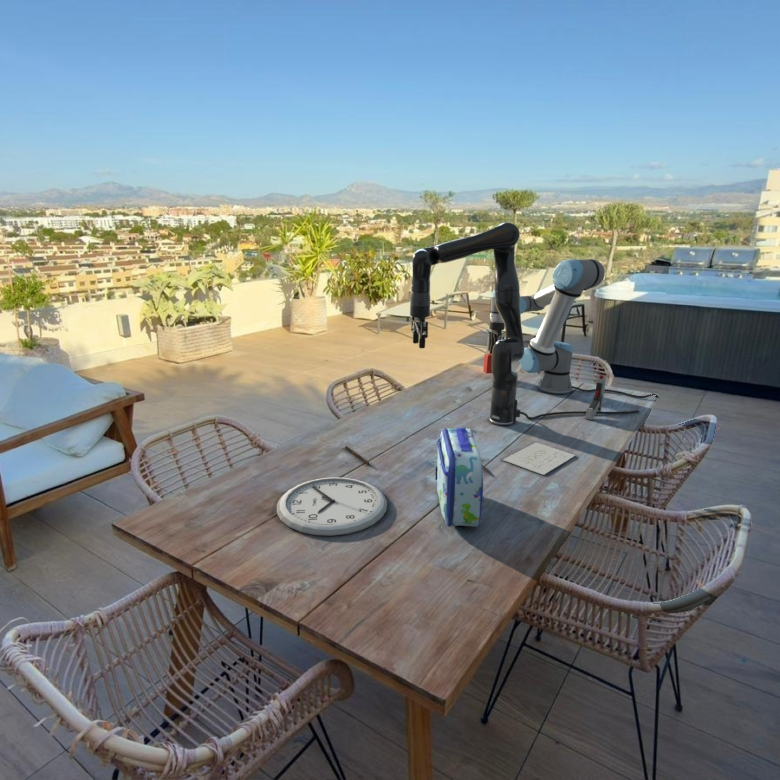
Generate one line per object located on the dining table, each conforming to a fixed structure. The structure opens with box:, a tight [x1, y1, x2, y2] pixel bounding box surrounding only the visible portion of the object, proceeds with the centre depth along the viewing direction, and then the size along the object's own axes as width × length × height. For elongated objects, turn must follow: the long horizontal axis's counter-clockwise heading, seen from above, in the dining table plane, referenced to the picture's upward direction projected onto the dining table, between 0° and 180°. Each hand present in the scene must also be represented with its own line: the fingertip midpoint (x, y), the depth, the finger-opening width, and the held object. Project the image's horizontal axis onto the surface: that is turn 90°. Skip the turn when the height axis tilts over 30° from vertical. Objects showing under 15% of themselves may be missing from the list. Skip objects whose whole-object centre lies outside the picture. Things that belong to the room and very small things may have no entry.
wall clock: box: [276, 476, 388, 537], centre depth 142 cm, size 30×2×30 cm
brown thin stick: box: [344, 445, 370, 465], centre depth 173 cm, size 15×1×1 cm, turn 34°
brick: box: [483, 353, 493, 374], centre depth 265 cm, size 4×9×9 cm, turn 104°
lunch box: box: [434, 427, 484, 528], centre depth 139 cm, size 26×11×21 cm, turn 179°
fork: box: [482, 465, 488, 474], centre depth 169 cm, size 3×16×2 cm, turn 15°
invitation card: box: [502, 442, 577, 476], centre depth 174 cm, size 21×1×15 cm
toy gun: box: [585, 374, 606, 421], centre depth 213 cm, size 2×16×15 cm
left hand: (418, 345), depth 203 cm, fingers open, 8 cm apart
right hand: (493, 366), depth 266 cm, fingers closed on brick, 4 cm apart
